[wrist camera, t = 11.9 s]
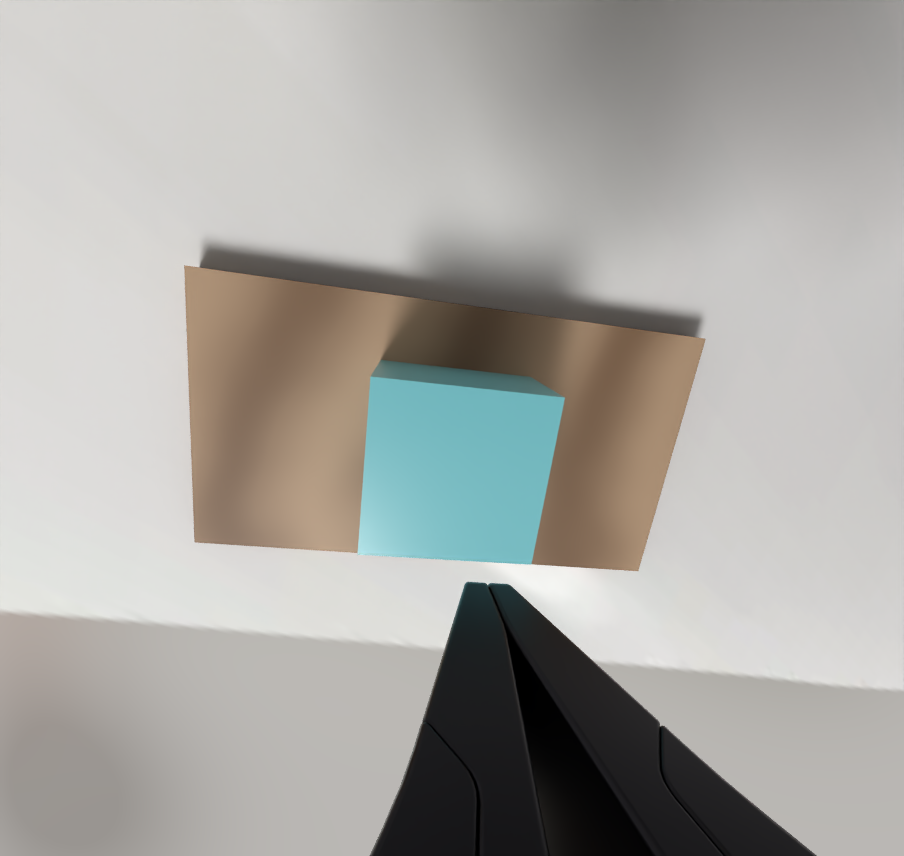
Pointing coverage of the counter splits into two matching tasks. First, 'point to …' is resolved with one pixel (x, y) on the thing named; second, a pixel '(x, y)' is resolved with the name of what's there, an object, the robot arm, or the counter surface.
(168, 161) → the counter surface
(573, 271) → the counter surface
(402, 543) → the teal block
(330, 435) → the post base
